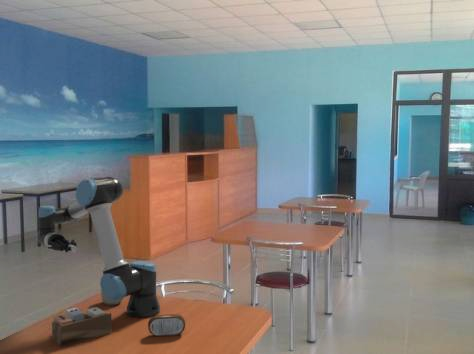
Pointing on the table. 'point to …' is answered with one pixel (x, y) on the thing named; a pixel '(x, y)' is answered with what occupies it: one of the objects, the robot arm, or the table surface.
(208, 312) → the table surface
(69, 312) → the pale blue knobbed block
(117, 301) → the teacup
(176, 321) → the tin
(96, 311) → the cream dotted block
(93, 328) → the wooden compartment box
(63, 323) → the tan rectangular block
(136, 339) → the table surface
